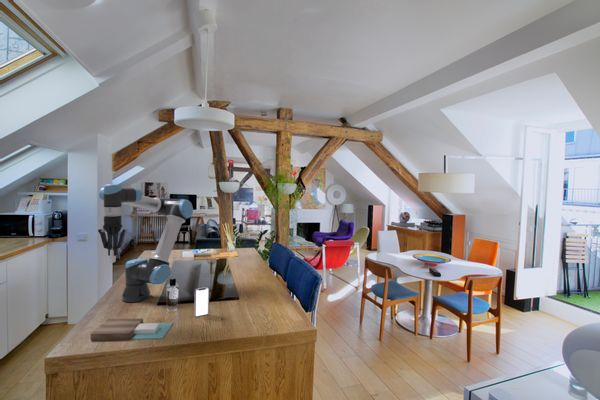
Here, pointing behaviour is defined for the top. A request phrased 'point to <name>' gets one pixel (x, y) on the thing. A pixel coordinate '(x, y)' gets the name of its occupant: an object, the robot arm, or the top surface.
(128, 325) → the brown wooden flat block
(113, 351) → the top surface
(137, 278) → the robot arm
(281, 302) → the top surface
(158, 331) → the mat
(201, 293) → the mobile phone
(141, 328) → the white slab
